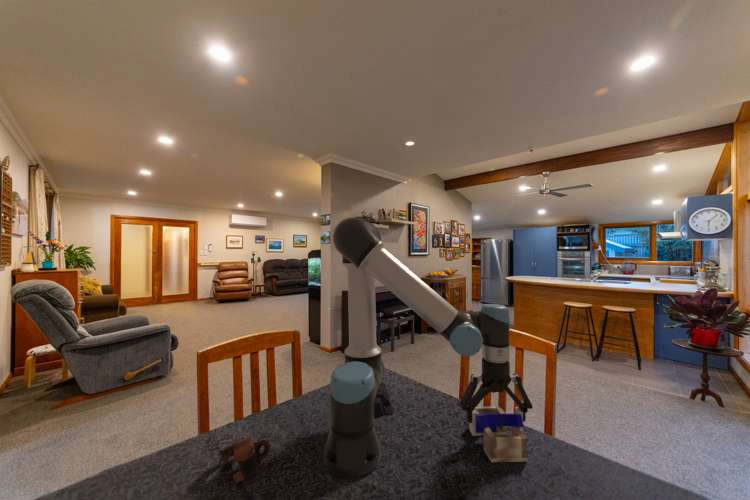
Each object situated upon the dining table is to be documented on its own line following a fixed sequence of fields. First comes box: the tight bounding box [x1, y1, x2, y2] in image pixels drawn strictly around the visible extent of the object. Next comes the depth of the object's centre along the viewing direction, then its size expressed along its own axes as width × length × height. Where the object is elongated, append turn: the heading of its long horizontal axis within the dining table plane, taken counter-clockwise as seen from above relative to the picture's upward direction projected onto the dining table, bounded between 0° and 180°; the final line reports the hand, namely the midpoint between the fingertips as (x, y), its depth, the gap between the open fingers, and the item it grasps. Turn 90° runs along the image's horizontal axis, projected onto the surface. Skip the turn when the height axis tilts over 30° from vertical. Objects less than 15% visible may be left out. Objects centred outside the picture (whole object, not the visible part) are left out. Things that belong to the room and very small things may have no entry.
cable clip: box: [475, 412, 525, 433], centre depth 85 cm, size 12×4×6 cm
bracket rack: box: [474, 406, 528, 463], centre depth 85 cm, size 10×16×6 cm, turn 2°
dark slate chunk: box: [374, 381, 394, 417], centre depth 110 cm, size 15×22×5 cm
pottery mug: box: [218, 436, 271, 483], centre depth 76 cm, size 12×10×8 cm
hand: (495, 432), depth 85 cm, fingers open, 13 cm apart
